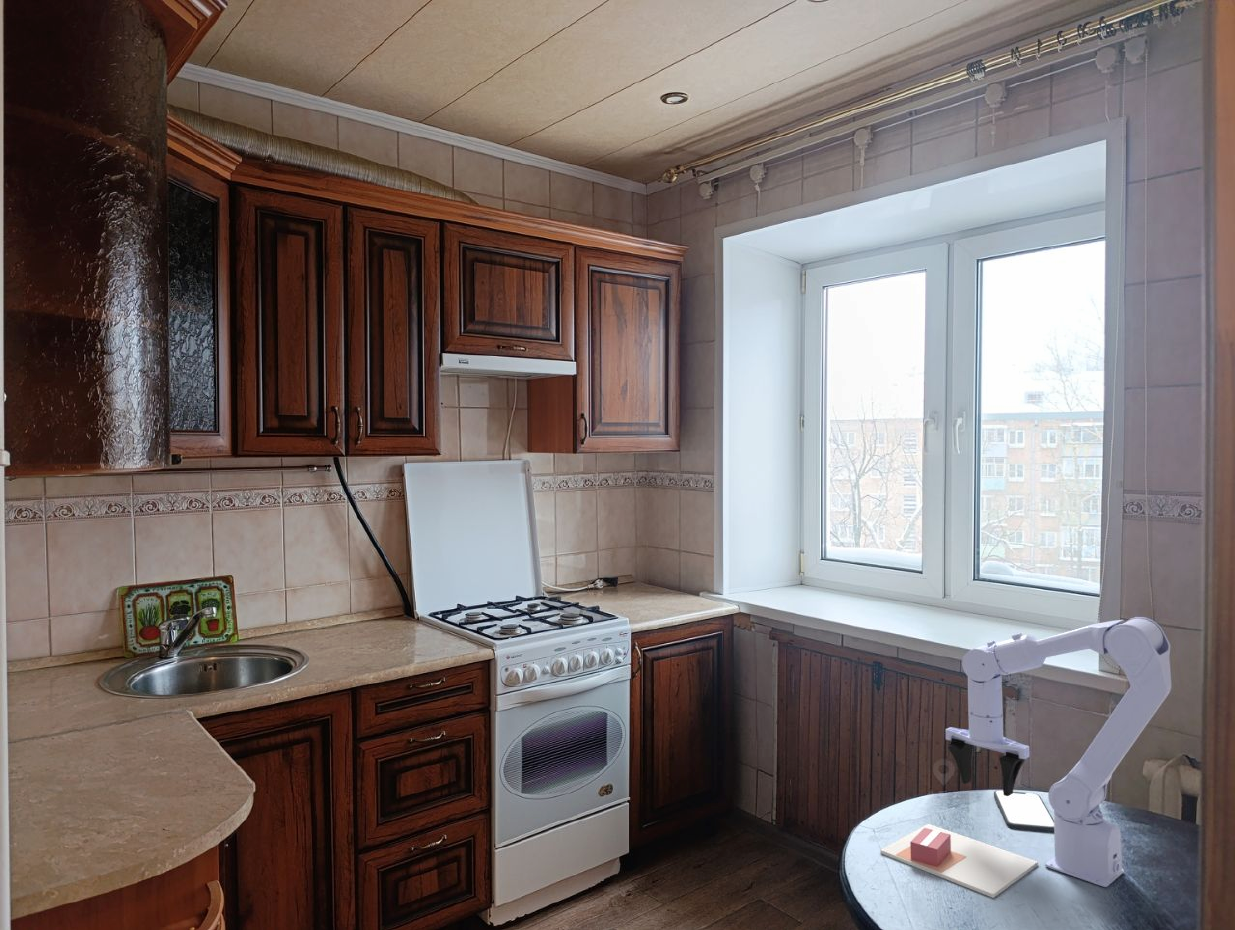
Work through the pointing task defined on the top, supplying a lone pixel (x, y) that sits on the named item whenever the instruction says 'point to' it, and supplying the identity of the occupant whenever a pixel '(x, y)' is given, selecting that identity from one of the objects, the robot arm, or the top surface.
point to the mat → (968, 863)
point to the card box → (930, 847)
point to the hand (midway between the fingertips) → (987, 788)
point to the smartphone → (1024, 811)
